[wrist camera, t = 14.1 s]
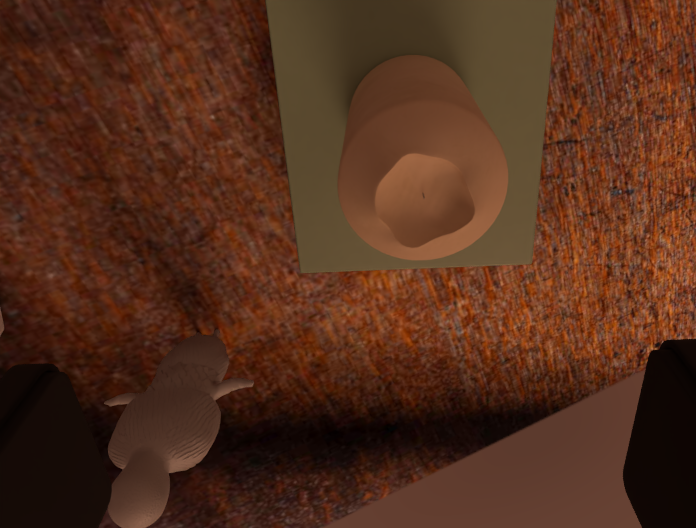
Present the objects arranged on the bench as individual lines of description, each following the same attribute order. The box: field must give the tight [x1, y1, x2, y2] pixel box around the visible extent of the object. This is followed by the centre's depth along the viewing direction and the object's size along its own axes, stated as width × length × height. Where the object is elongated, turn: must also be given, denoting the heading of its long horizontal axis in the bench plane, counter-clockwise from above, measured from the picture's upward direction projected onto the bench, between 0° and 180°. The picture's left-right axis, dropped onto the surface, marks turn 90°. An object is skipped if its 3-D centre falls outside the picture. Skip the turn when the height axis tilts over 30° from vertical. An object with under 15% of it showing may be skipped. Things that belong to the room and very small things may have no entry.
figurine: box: [104, 329, 254, 528], centre depth 34 cm, size 9×4×15 cm, turn 102°
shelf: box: [265, 0, 557, 273], centre depth 29 cm, size 16×12×6 cm
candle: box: [338, 55, 508, 260], centre depth 22 cm, size 6×6×10 cm
